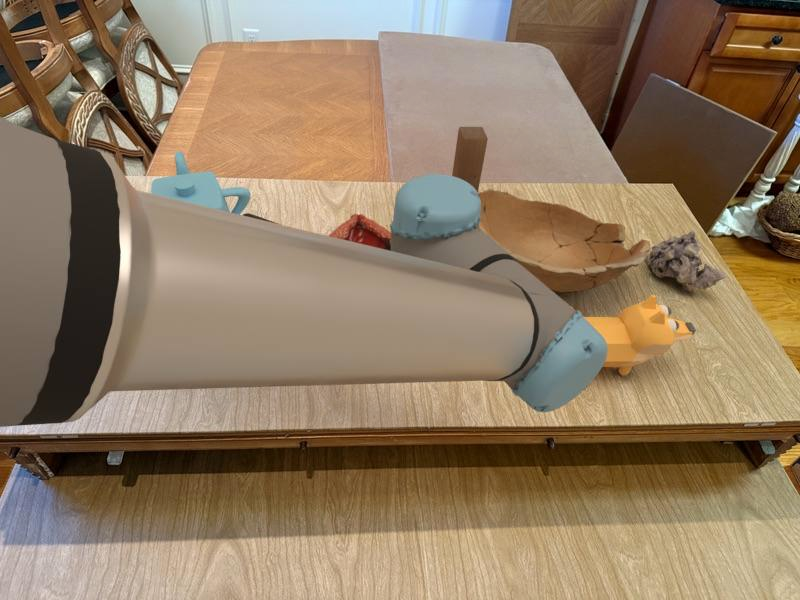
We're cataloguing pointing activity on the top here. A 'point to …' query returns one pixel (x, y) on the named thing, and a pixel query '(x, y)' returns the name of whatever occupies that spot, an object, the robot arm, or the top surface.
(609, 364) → the dog
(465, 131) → the wooden block
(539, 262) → the ceramic bowl
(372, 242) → the dish
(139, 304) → the robot arm
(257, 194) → the top surface
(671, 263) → the mineral specimen
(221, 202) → the teapot
